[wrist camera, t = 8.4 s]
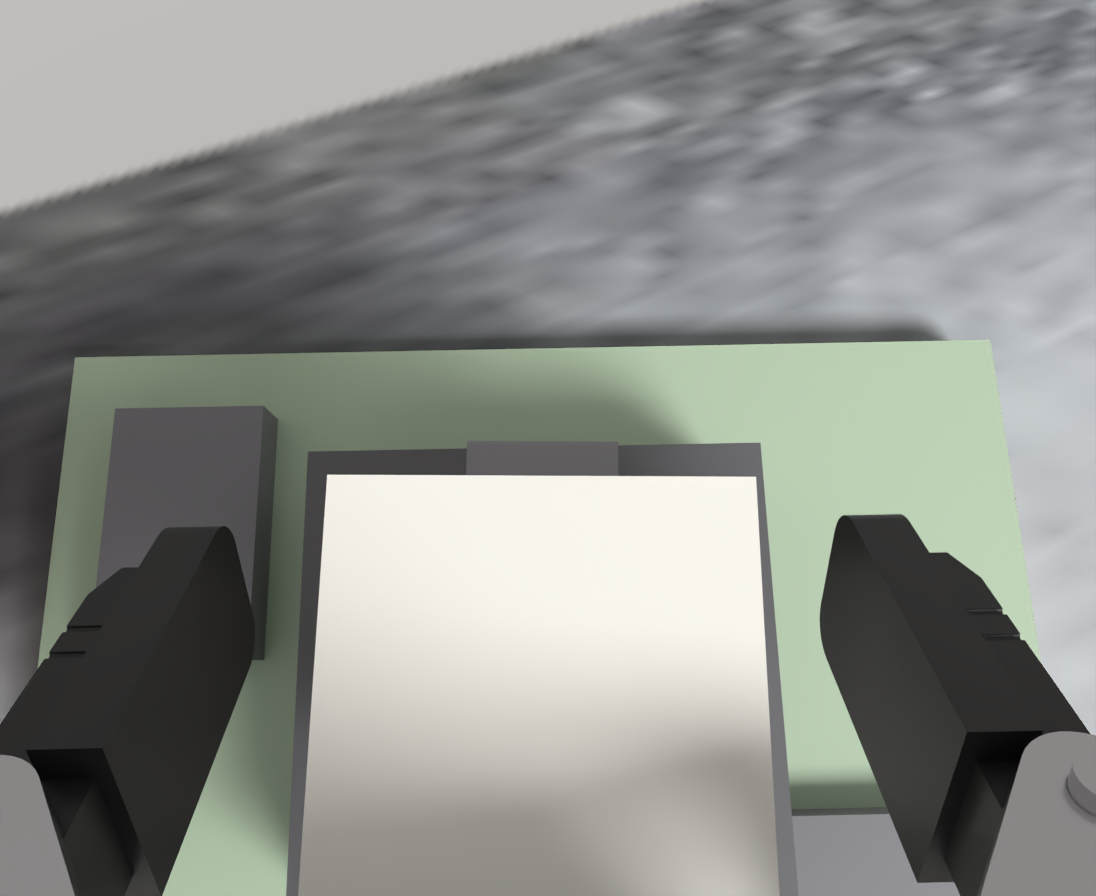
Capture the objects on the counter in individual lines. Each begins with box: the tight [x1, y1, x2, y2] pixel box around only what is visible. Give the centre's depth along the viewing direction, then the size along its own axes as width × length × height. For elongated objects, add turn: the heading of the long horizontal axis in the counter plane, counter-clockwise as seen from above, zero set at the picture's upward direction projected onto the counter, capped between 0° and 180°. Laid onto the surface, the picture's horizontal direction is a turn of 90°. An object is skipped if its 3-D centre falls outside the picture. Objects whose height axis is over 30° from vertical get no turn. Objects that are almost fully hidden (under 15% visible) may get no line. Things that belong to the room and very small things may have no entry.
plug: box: [298, 441, 780, 896], centre depth 13 cm, size 4×5×10 cm
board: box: [37, 340, 1041, 896], centre depth 16 cm, size 20×14×4 cm
